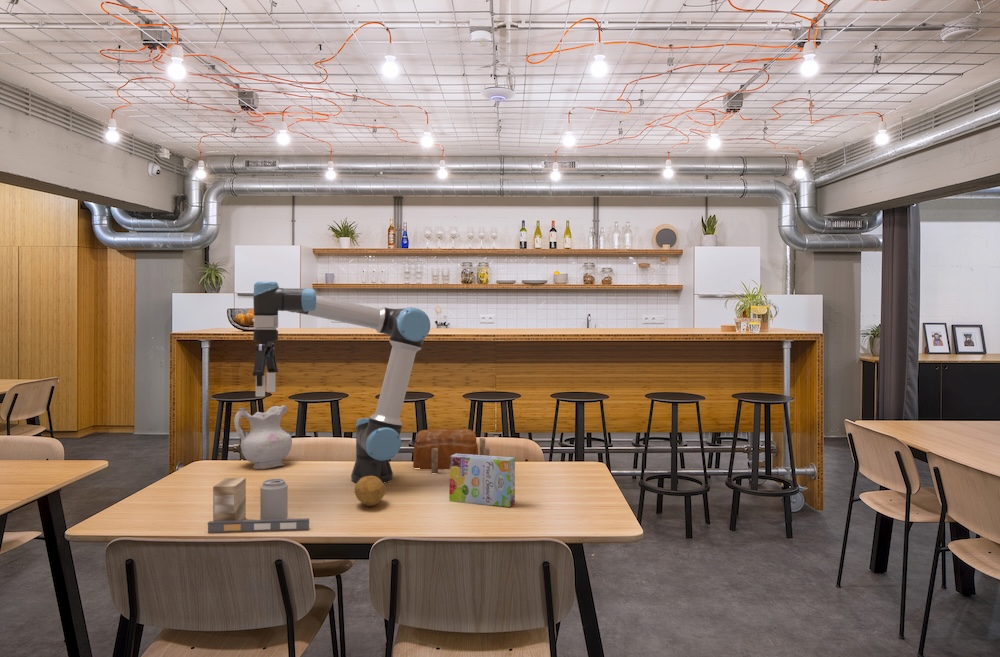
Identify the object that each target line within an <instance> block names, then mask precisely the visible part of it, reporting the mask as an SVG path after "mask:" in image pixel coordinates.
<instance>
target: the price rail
mask: <svg viewBox="0 0 1000 657" xmlns="http://www.w3.org/2000/svg"><path fill="white" fill-rule="evenodd" d="M300 530H301V531H304V530H305V531H307V530H310V518H309V517H307V518H287V519H268V520H260V519H244V520H234V521H213V520H209V521H208V522H207V533H208V534H210V533H235V532H236V533H237V532H239V533H240V532H241V533H243V532H270V531H271V532H272V531H300Z"/></svg>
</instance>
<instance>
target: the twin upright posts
mask: <svg viewBox="0 0 1000 657" xmlns="http://www.w3.org/2000/svg"><path fill="white" fill-rule="evenodd" d="M490 453H491V448H490V447H489V446H486V438H485V437H480V438H479V455H486V456H491V454H490ZM432 473H438V474H439V470H438V448H432V470H431V474H432Z"/></svg>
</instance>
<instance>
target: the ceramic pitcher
mask: <svg viewBox="0 0 1000 657" xmlns="http://www.w3.org/2000/svg"><path fill="white" fill-rule="evenodd" d="M247 409H248V408H247V407H240V408H238V409H237V411H236V414H235V415H234V418H233V419H234V422H233V423H234V428H235V431H236V433H237V435H238V437H239V438H240V450H241V453H242V455H243V457H244V459H246V460H247V461H248V462H250V463H254V464H253V467H252V468H253V469H254V470H255V469H256V470H265V469H271V468H277V467H282V466H283V467H284V466H285V465H286V463H283V462H282V461H283V459H285V458H286V457H288V455H289V454H290V452H291V450H292V446H293V439H292V435H290V434H289V433H288V432H287V431H285V430H284V429H283V428H282V426H281V421H282V420H281V419H282V417H283V415H285V414H286V413H287V412H288V411H289V409H288V406H287V405H284V404H282V405H281V406H279V405H273V406H271V407H269V408H268V409H267V410H266V412H260V411H256V412H255V413H254V414H253V415H251V414H250V413H249V412H248V411H247ZM242 418H245V419H246V420H247V421H248V422H249V426H250V428H249V429H250V430H249V432H248V434H246V436H245V434H244V431H243V430H242V428H241V419H242Z"/></svg>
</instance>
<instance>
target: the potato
mask: <svg viewBox="0 0 1000 657" xmlns="http://www.w3.org/2000/svg"><path fill="white" fill-rule="evenodd" d="M386 489H387V488H386V485H385V483H383V482H382V481H381V480H380V479H379V478H378V477H375V476H365V477H362V478H361V479H360V480H359V481H358V482H357V483H355V486H354V495H355V496H356V498H357V500H358V501H359V502H360V503H361V504H363V505H364V506H367V507H373V506H376V505H378V504H379V503H380V502H381V501H382V499H383V498H384V496H385V495H386Z"/></svg>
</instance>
